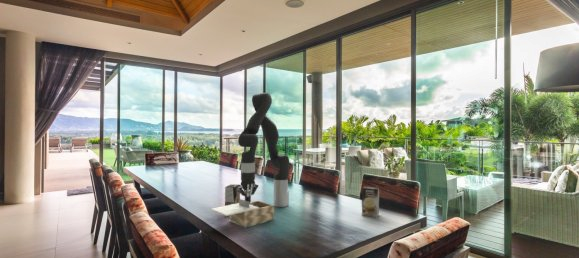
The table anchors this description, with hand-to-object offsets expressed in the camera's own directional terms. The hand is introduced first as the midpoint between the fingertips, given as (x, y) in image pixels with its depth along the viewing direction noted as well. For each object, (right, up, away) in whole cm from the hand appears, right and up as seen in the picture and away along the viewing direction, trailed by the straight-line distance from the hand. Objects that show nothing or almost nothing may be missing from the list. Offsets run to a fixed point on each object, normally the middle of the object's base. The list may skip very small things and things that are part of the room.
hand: (247, 203), depth 158 cm
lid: (-6, -2, -5) cm, 8 cm away
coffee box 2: (+70, -11, +15) cm, 72 cm away
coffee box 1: (-11, -10, +17) cm, 23 cm away
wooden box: (+2, -10, +2) cm, 10 cm away
